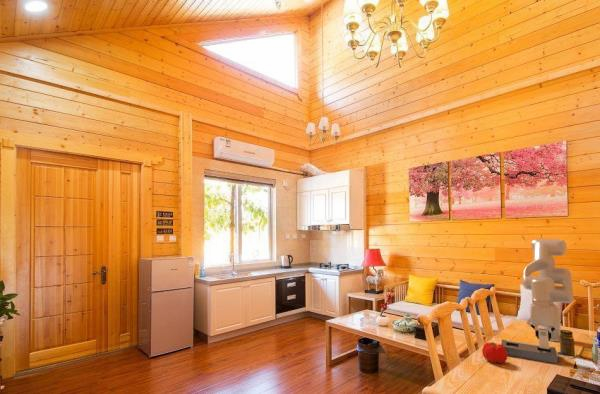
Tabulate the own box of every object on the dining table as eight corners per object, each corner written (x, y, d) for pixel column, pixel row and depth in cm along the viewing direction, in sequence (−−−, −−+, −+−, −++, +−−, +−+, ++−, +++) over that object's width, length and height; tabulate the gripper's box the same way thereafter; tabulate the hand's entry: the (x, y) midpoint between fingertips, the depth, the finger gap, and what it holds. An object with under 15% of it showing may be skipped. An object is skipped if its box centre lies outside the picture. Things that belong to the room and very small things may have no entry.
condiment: (578, 355, 178) (576, 331, 180) (572, 358, 174) (570, 334, 175) (561, 350, 184) (560, 328, 186) (555, 354, 180) (553, 330, 181)
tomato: (510, 367, 163) (509, 348, 163) (484, 364, 166) (483, 345, 167) (505, 359, 173) (504, 341, 173) (481, 356, 176) (480, 339, 177)
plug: (539, 345, 178) (538, 327, 179) (548, 346, 176) (547, 329, 177) (539, 348, 174) (538, 330, 175) (549, 349, 172) (547, 331, 173)
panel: (502, 346, 191) (502, 338, 191) (555, 355, 178) (555, 346, 178) (501, 354, 179) (500, 345, 180) (557, 364, 166) (557, 355, 166)
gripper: (560, 303, 176) (563, 339, 174) (521, 299, 185) (524, 334, 184) (561, 306, 170) (564, 344, 168) (521, 302, 179) (524, 338, 177)
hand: (543, 338), depth 176 cm, fingers closed on plug, 4 cm apart
